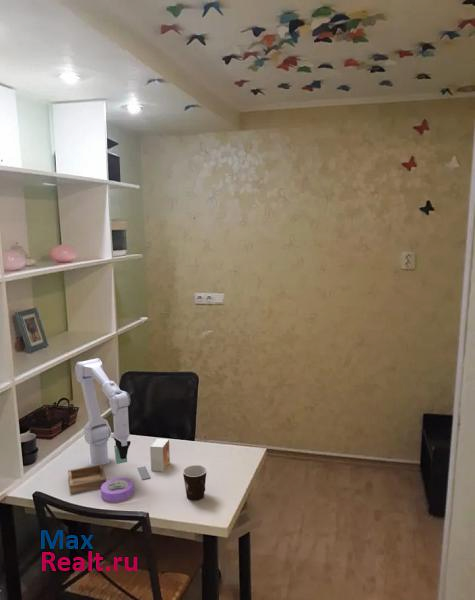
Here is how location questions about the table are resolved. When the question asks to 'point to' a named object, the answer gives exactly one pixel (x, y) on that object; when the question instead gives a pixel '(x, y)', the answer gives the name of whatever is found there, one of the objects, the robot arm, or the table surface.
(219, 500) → the table surface
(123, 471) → the table surface
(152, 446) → the small box
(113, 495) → the masking tape
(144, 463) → the table surface
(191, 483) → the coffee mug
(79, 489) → the wooden tray
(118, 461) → the block
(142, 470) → the mat
